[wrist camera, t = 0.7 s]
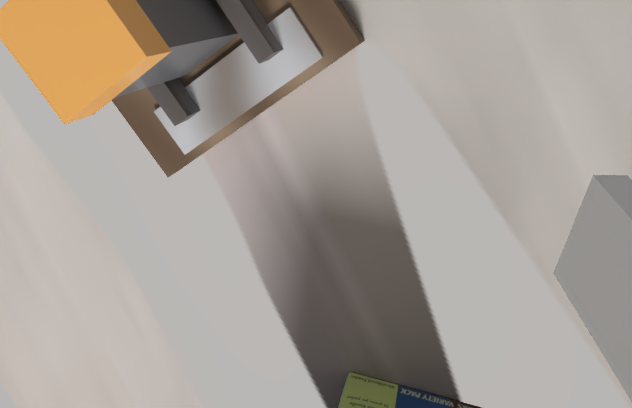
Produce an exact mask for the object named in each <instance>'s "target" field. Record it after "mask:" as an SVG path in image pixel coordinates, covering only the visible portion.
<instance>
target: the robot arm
mask: <svg viewBox="0 0 632 408" xmlns="http://www.w3.org/2000/svg"><path fill="white" fill-rule="evenodd" d="M554 275H555V276H556V278H557V280H558V281H559V283H560V285H561V286H562V288H563V290H564V291H565V293H566V294H567V296H568V298H569V299H570V301H571V303H572V304H573V306H574V308H575V309H576V311H577V313H578V314H579V316H580V317H581V319H582V321H583V322H584V324H585V326H586V327H587V329H588V331H589V332H590V334H591V336H592V337H593V339H594V340H595V342H596V344H597V345H598V347H599V349H600V350H601V352H602V354H603V355H604V357H605V359H606V360H607V362H608V363H609V365H610V367H611V368H612V370H613V372H614V373H615V375H616V377H617V378H618V380H619V382H620V383H621V385H622V387H623V388H624V390H625V391H626V393H627V395H628V396H629V398H630V400H631V401H632V180H631V179H630V178H629V177H628V176H623V175H593V177H592V179H591V182H590V184H589V187H588V189H587V192H586V194H585V197H584V199H583V202H582V204H581V207H580V209H579V212H578V214H577V217H576V219H575V221H574V224H573V226H572V229H571V231H570V234H569V236H568V239H567V241H566V244H565V246H564V249H563V251H562V254H561V256H560V259H559V261H558V264H557V266H556V268H555V271H554Z"/></svg>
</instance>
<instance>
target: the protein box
mask: <svg viewBox="0 0 632 408" xmlns="http://www.w3.org/2000/svg"><path fill="white" fill-rule="evenodd" d="M337 408H481V407H478V406H474V405H470V404H466V403H463V402H459V401H455V400H451V399H448V398H445V397H441V396H437V395H434V394H430V393H426V392H422V391H419V390H415V389H411V388H408V387H404V386H400V385H396V384H393V383H389V382H385V381H382V380H378V379H374V378H370V377H367V376H363V375H359V374H356V373H352V372H350V373H348V375H347V378H346V381H345V385H344V388H343V391H342V394H341V398H340V401H339V404H338V407H337Z"/></svg>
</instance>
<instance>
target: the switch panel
mask: <svg viewBox="0 0 632 408" xmlns="http://www.w3.org/2000/svg"><path fill="white" fill-rule="evenodd" d="M216 1H217V3H218V4H219V6H220V7H221V9H222V10H223V12H224V13H225V15H226V16H227V17H228V19H229V20H230V22H231V23H232V25H233V26H234V28H235V29H236V31H237V32H238V34H239V35H237V36H236V37H235V38H234V39H232V40H231V41H230V42H228V43H227V44H226V45H225V46H223V47H222V48H221V49H219V50H218V51H217V52H216V53H214V54H213V55H212V56H210V57H209V58H208V59H207V60H205V61H204V62H203V63H201V64H200V65H199V66H198V67H196V68H195V69H194V70H192V71H191V72H190V73H189V74H187V75H185V76H182V77H179V78H176V79H173V80H169V81H166V82H163V83H160V84H157V85H154V86H151V87H147V88H144V89H141V90H138V91H135V92H132V93H128V94H125V95H122V96H119V97H116V98H114V99H112V101H113V103H114V104H115V105H116V107H117V108H118V110H119V111H120V112H121V113H122V115H123V116H124V118H125V119H126V121H127V122H128V123H129V125H130V126H131V127H132V129H133V130H134V131H135V133H136V134H137V135H138V137H139V138H140V140H141V141H142V142H143V144H144V145H145V146H146V148H147V149H148V151H149V152H150V153H151V155H152V156H153V157H154V159H155V160H156V162H157V163H158V164H159V165H160V167H161V168H162V170H163V171H164V172H165V174H166V175H167V177H169V176H171V175H172V174H174V173H176V172H177V171H179V170H180V169H181V168H183V167H184V166H186V165H187V164H189V163H190V162H192V161H193V160H194V159H196V158H197V157H199V156H200V155H202V154H203V153H204V152H206V151H207V150H209V149H210V148H212V147H213V146H214V145H216V144H217V143H219V142H220V141H222V140H223V139H224V138H226V137H227V136H229V135H230V134H232V133H233V132H234V131H236V130H237V129H239V128H240V127H242V126H243V125H244V124H246V123H247V122H249V121H250V120H252V119H253V118H255V117H256V116H257V115H259V114H260V113H262V112H263V111H265V110H266V109H267V108H269V107H270V106H272V105H273V104H275V103H276V102H277V101H279V100H280V99H282V98H283V97H285V96H286V95H287V94H289V93H290V92H292V91H293V90H295V89H296V88H297V87H299V86H300V85H302V84H303V83H305V82H306V81H307V80H309V79H310V78H312V77H313V76H315V75H316V74H318V73H319V72H320V71H322V70H323V69H325V68H326V67H328V66H329V65H330V64H332V63H333V62H335V61H336V60H338V59H339V58H340V57H342V56H343V55H345V54H346V53H348V52H349V51H350V50H352V49H353V48H355V47H356V46H358V45H359V44H360V43H362V42H363V41H365V40H364V39H363V37H362V36H361V34H360V33H359V31H358V29H357V28H356V26H355V25H354V23H353V22H352V20H351V18H350V17H349V15H348V14H347V12H346V11H345V9H344V7H343V6H342V4H341V3H340V1H339V0H216Z"/></svg>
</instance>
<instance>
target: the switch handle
mask: <svg viewBox="0 0 632 408" xmlns="http://www.w3.org/2000/svg"><path fill="white" fill-rule="evenodd" d="M237 35H239V34H238V32H237V31H236V29H235V28H234V26H233V25H232V23H231V22H230V20H229V19H228V17H227V16H226V15H225V13H224V12H223V10H222V9H221V7H220V6H219V4H218V3H217V1H216V0H9V1H8V2H7V3H6V4H5V5H4V6H3V7H2V8H1V9H0V39H1V41H2V42H3V43H4V44H5V46H6V47H7V48H8V50H9V51H10V52H11V54H12V55H13V56H14V58H15V59H16V60H17V61H18V63H19V64H20V66H21V67H22V68H23V70H24V71H25V72H26V74H27V75H28V76H29V78H30V79H31V80H32V82H33V83H34V84H35V86H36V87H37V88H38V90H39V91H40V92H41V94H42V95H43V96H44V97H45V99H46V100H47V101H48V103H49V104H50V106H51V107H52V108H53V110H54V111H55V112H56V113H57V115H58V116H59V118H60V119H61V120H62V121H63V123H64V124H67V123H70V122H73V121H76V120H78V119H82V118H85V117H87V116H90V115H93V114H95V113H96V112H97V111H99V110H100V109H101V108H102V107H104V106H105V105H106V104H107V103H108V102H110V101H111V100H112V99H114V98H116V97H119V96H122V95H125V94H128V93H132V92H135V91H138V90H141V89H144V88H147V87H151V86H154V85H157V84H160V83H163V82H166V81H169V80H173V79H176V78H179V77H182V76H185V75H187V74H189V73H190V72H191V71H192V70H194V69H195V68H196V67H198V66H199V65H200V64H201V63H203V62H204V61H205V60H207V59H208V58H209V57H210V56H212V55H213V54H214V53H216V52H217V51H218V50H219V49H221V48H222V47H223V46H225V45H226V44H227V43H228V42H230V41H231V40H232V39H234V38H235V37H236V36H237Z"/></svg>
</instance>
